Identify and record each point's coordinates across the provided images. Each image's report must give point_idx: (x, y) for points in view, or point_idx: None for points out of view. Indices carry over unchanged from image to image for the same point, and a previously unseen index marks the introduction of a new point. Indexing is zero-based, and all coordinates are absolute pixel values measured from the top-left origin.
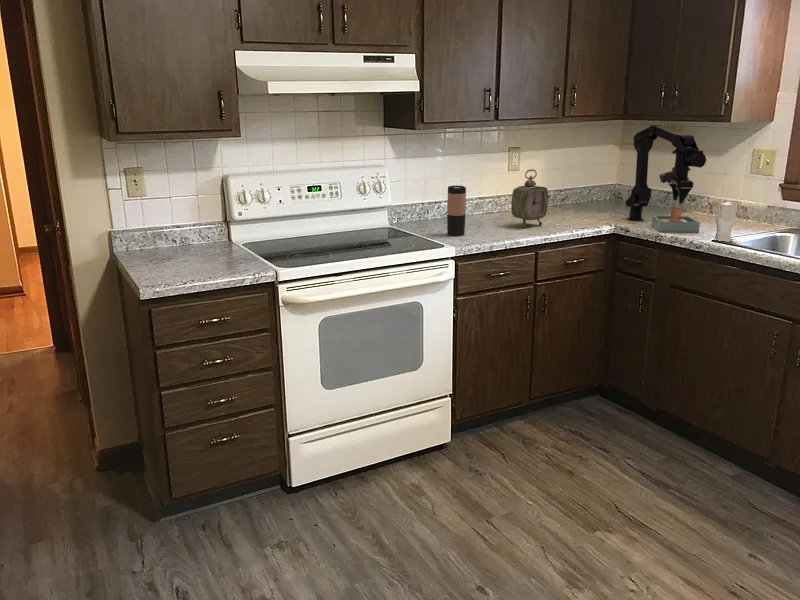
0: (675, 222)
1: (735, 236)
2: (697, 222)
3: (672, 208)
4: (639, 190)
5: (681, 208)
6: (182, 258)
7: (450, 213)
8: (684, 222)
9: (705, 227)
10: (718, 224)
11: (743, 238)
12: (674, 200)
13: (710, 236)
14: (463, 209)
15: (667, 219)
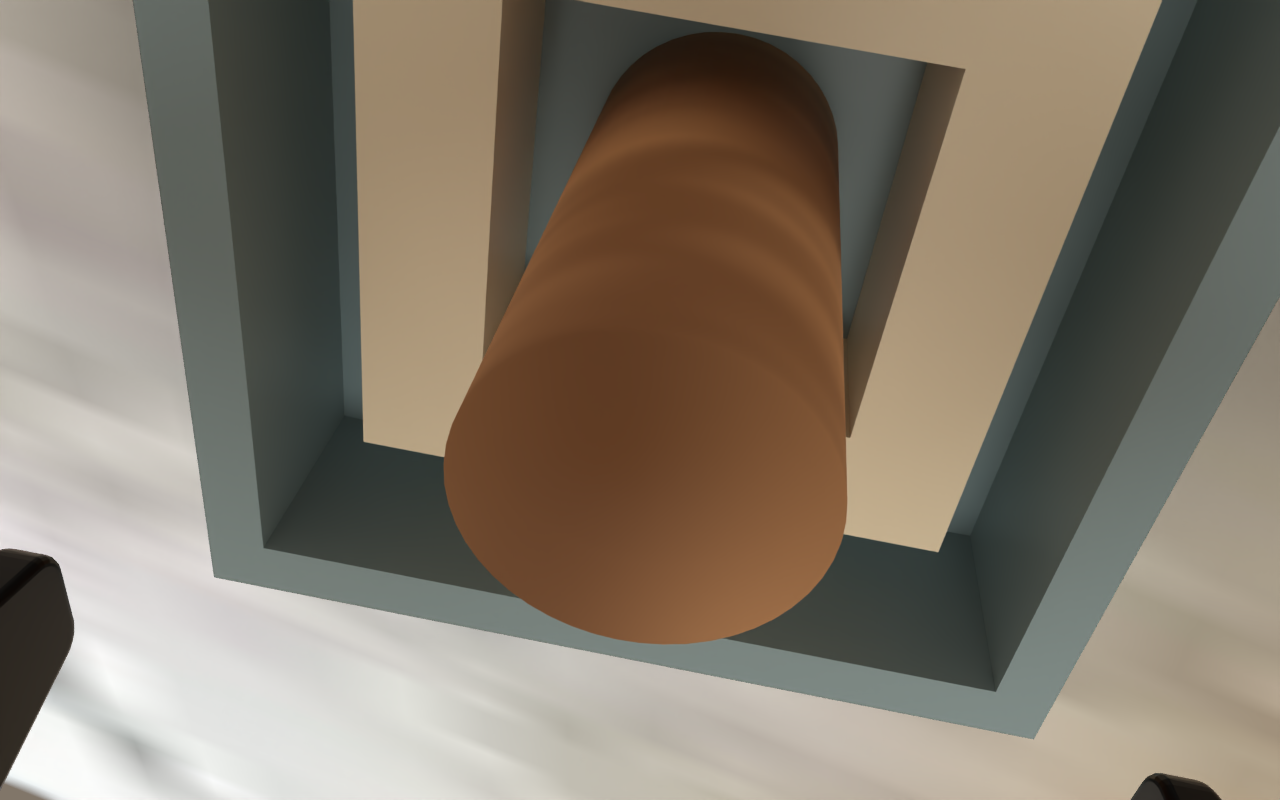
0: (142, 29)
1: (144, 748)
2: (211, 537)
3: (597, 308)
4: None
5: (546, 592)
6: None
7: None
8: (177, 276)
9: (845, 742)
10: None
11: (29, 761)
12: (1140, 789)
13: (35, 470)
14: None
15: (1023, 135)
